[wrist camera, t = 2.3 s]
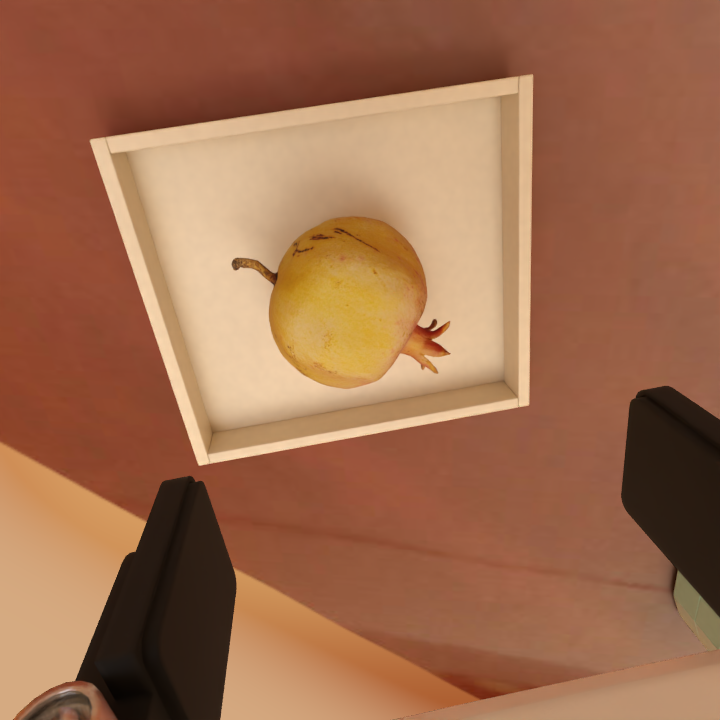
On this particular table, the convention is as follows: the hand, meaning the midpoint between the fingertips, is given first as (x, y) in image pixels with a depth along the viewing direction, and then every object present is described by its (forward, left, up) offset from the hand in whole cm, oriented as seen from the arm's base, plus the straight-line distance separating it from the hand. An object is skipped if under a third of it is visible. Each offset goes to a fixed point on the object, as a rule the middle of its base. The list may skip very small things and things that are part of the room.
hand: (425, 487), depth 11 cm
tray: (0, 0, -16) cm, 16 cm away
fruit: (0, 0, -15) cm, 15 cm away
